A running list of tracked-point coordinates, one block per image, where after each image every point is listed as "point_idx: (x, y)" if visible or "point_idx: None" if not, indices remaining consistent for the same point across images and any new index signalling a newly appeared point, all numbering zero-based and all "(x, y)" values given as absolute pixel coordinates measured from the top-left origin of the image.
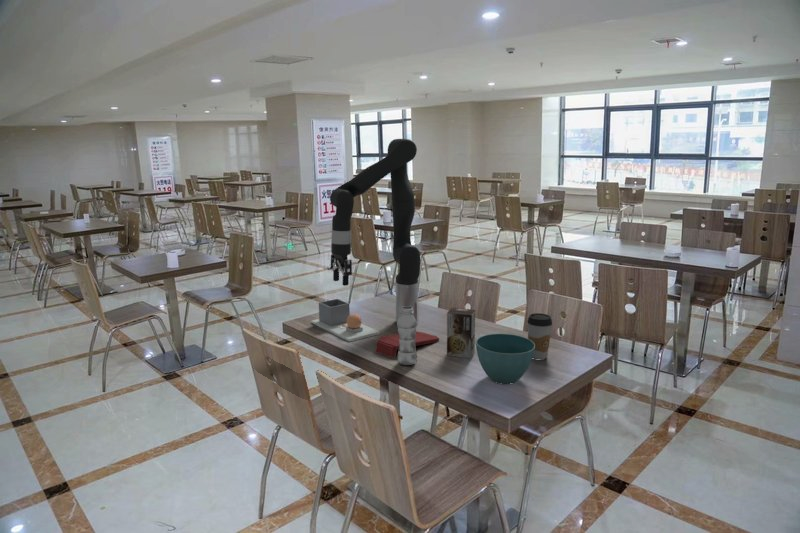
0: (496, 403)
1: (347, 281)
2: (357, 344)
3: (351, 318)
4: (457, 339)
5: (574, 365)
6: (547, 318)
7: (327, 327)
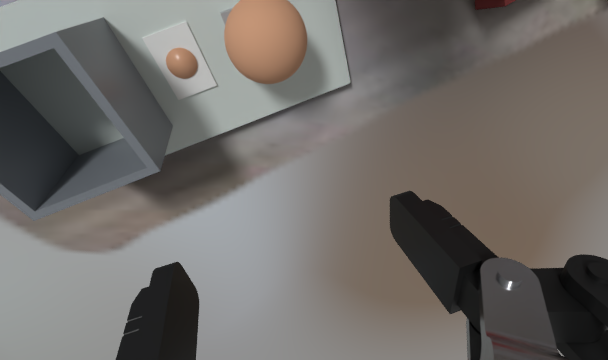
0: None
1: (451, 224)
2: (383, 56)
3: (294, 67)
4: None
5: None
6: None
7: (185, 140)
